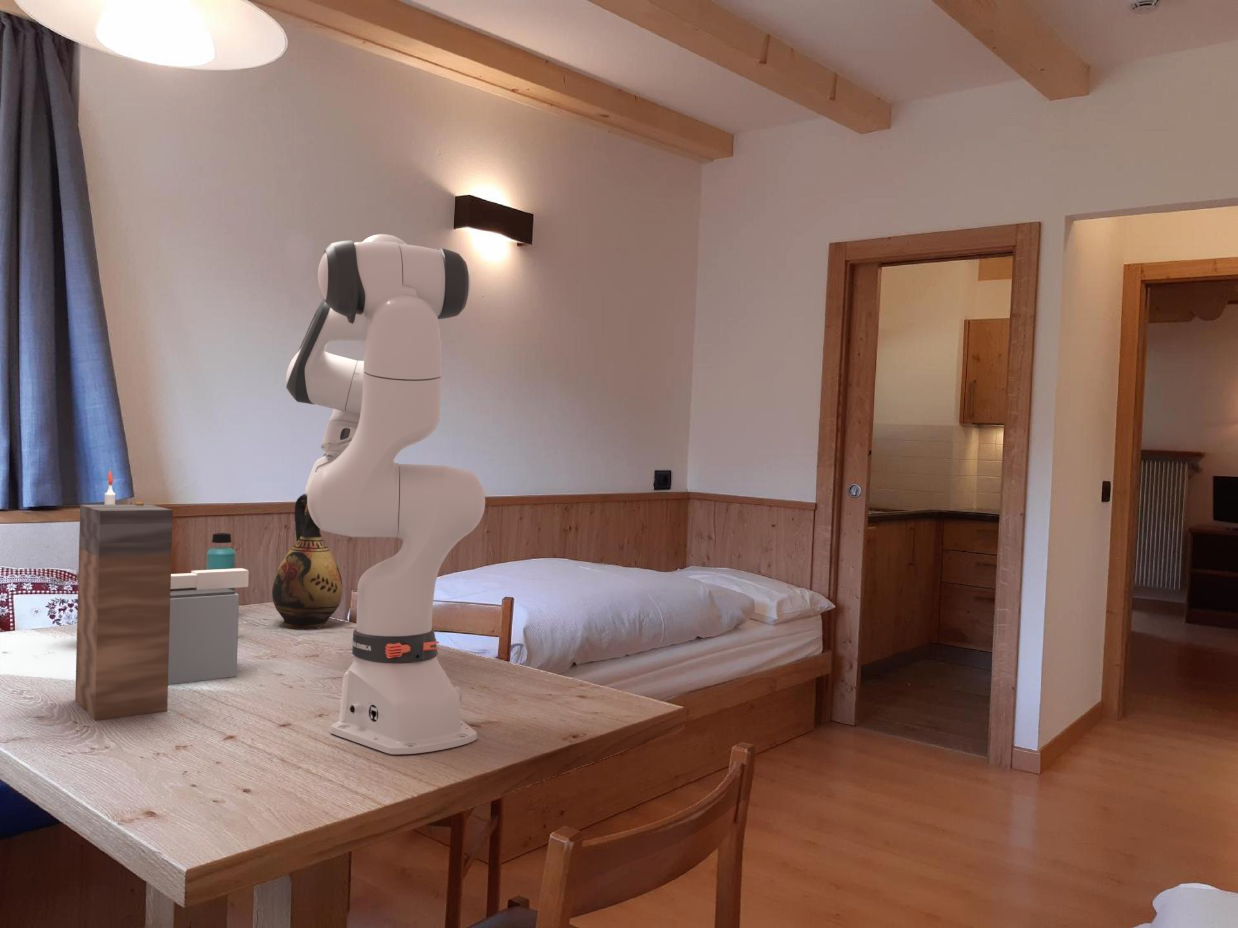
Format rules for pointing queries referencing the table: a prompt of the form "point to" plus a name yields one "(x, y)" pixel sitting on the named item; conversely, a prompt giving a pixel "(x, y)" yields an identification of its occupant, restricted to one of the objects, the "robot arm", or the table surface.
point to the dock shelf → (202, 634)
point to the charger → (211, 579)
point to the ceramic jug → (307, 577)
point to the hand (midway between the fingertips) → (328, 513)
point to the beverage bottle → (221, 554)
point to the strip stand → (123, 609)
